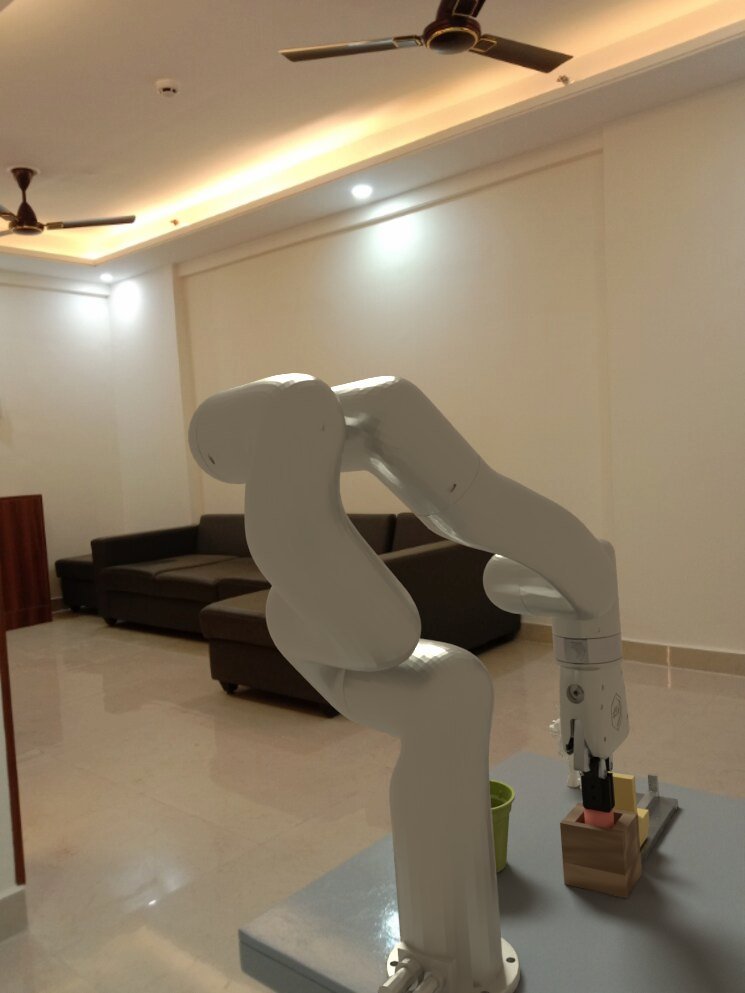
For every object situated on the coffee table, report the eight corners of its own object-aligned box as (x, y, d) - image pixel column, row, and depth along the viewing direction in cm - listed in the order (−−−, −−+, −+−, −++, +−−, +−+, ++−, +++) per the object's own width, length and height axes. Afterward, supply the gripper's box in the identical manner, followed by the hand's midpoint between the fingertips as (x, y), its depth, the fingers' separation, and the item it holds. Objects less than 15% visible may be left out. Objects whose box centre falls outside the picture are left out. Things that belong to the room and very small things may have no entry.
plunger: (611, 860, 88) (608, 816, 88) (582, 855, 89) (579, 811, 89) (619, 848, 90) (616, 805, 90) (592, 843, 92) (589, 800, 92)
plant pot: (496, 892, 89) (491, 816, 89) (426, 872, 95) (421, 800, 94) (533, 857, 96) (528, 786, 96) (466, 840, 102) (461, 773, 102)
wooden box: (626, 898, 86) (622, 834, 85) (564, 883, 89) (559, 822, 89) (641, 873, 90) (637, 812, 90) (582, 860, 94) (578, 802, 94)
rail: (638, 870, 91) (636, 836, 91) (587, 859, 95) (585, 826, 94) (678, 806, 107) (676, 777, 107) (633, 799, 110) (631, 770, 110)
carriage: (638, 851, 93) (634, 786, 93) (595, 843, 96) (590, 779, 96) (650, 834, 97) (645, 771, 97) (608, 826, 100) (603, 765, 100)
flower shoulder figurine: (548, 782, 118) (542, 703, 118) (564, 774, 121) (559, 697, 120) (599, 798, 111) (593, 714, 111) (615, 790, 114) (609, 707, 113)
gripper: (598, 666, 81) (611, 842, 82) (639, 635, 93) (650, 788, 94) (530, 661, 85) (542, 829, 86) (577, 632, 98) (588, 779, 98)
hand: (599, 807), depth 90 cm, fingers closed
